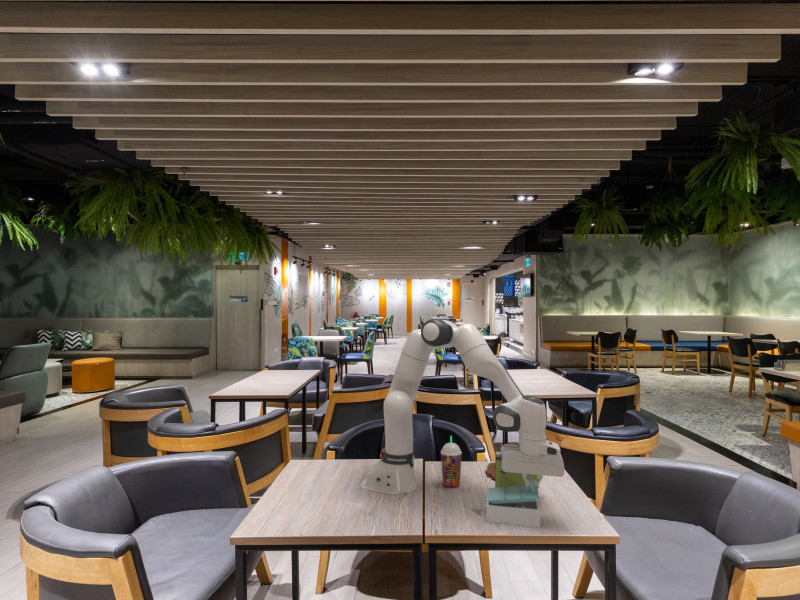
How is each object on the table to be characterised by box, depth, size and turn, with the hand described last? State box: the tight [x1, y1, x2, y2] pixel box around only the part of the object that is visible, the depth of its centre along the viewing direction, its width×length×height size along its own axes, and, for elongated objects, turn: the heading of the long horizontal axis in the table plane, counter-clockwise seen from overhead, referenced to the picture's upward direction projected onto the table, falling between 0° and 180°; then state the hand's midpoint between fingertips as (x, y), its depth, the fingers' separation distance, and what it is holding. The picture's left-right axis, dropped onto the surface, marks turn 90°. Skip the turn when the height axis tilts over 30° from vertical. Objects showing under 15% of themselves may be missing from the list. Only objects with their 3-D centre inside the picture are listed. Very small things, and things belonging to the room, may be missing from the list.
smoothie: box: [440, 435, 463, 489], centre depth 183 cm, size 8×8×20 cm
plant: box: [484, 462, 495, 482], centre depth 196 cm, size 20×20×11 cm
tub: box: [485, 491, 541, 529], centre depth 155 cm, size 17×11×6 cm, turn 77°
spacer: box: [515, 504, 525, 508], centre depth 156 cm, size 3×3×3 cm
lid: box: [487, 477, 540, 504], centre depth 155 cm, size 16×10×6 cm, turn 77°
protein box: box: [494, 451, 539, 490], centre depth 172 cm, size 10×15×16 cm
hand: (532, 486), depth 153 cm, fingers closed on lid
